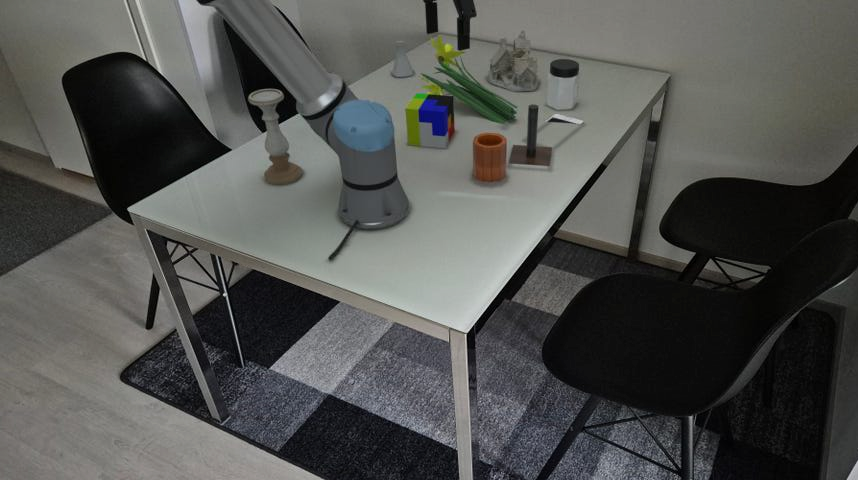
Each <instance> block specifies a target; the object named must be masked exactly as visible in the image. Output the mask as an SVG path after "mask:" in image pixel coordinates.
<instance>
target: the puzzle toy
mask: <svg viewBox="0 0 858 480" xmlns="http://www.w3.org/2000/svg"><path fill="white" fill-rule="evenodd" d="M454 100H455V97H453V95H447V94H445V95H444V94H443V95H439V94H437V95H433V94H426V93H419V92H416V93H415V94H414V95H413V97H412V99H411V100H410V101H409V103H408V104H407V106H406V107H405V119H406V120H405V122H406V133H407V145H408V146H416V147H428V148H438V149H446V148H447V147H448V145H449V143H450V141H451V139H452V137H453V135H454V134H455V101H454Z"/></svg>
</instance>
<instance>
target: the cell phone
mask: <svg viewBox="0 0 858 480" xmlns="http://www.w3.org/2000/svg"><path fill="white" fill-rule="evenodd" d="M544 122H545V123H558V124H560V123H561V124H573V125H574V124H575V125H584V123H585V122H584V120H582V119H578V118H574V117H570V116H566V115H563V114H559V113H555V114H553V115H552V116H551V117H549V118H548V119H546V120H545V121H544Z"/></svg>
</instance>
